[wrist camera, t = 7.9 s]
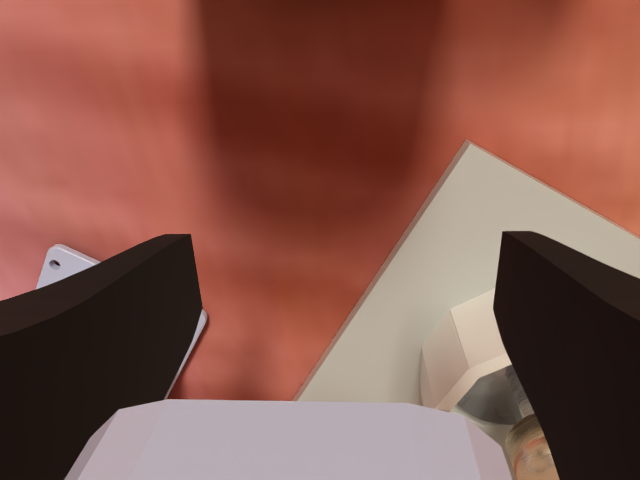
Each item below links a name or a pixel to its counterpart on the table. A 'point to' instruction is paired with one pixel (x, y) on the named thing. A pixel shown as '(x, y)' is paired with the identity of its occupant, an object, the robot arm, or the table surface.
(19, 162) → the table surface
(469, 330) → the white square-based fixture
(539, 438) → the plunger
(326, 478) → the robot arm
